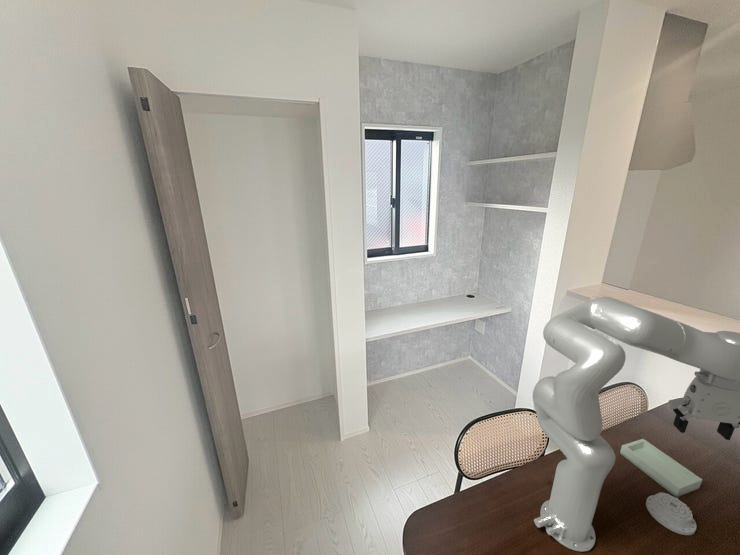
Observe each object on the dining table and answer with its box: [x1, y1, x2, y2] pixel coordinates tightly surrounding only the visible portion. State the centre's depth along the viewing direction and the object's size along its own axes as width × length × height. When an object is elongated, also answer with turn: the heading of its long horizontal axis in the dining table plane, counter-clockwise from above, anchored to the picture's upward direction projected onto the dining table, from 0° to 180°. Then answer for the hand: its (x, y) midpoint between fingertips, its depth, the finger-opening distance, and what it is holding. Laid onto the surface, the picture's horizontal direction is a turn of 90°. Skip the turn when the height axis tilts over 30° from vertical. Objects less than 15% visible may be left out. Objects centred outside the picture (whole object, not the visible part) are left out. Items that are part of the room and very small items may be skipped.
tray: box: [619, 438, 703, 498], centre depth 96 cm, size 10×16×4 cm, turn 15°
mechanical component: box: [645, 491, 697, 536], centre depth 82 cm, size 10×4×10 cm
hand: (700, 432), depth 80 cm, fingers open, 9 cm apart
